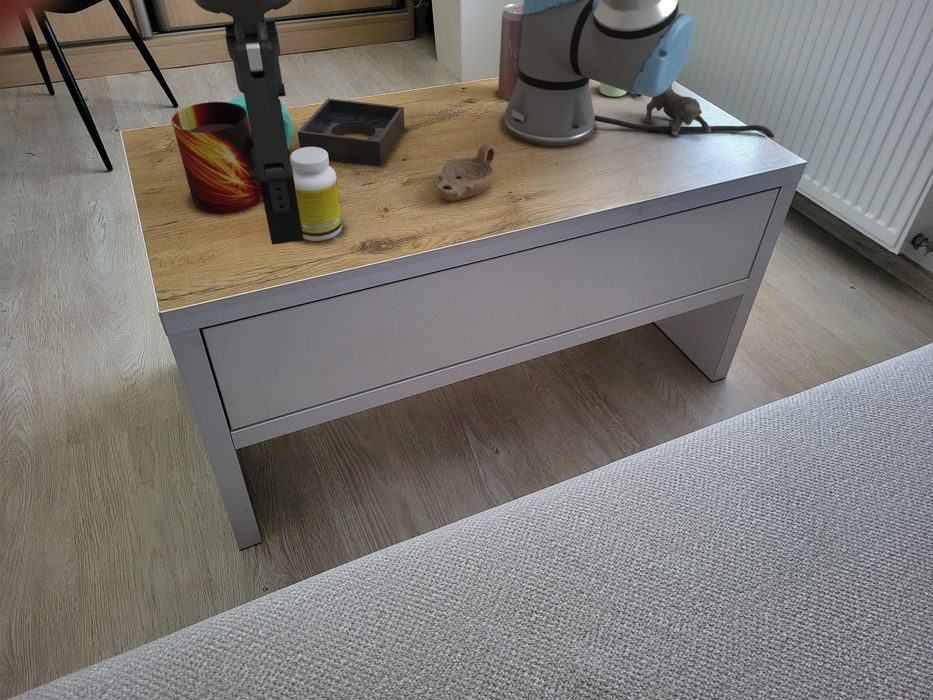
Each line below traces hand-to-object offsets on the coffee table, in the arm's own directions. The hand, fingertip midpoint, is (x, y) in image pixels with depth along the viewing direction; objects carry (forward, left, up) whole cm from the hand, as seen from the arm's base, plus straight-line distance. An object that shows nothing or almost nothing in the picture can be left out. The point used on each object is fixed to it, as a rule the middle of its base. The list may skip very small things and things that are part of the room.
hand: (281, 200), depth 67 cm
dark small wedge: (-30, -85, -19) cm, 93 cm away
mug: (+22, -29, -19) cm, 41 cm away
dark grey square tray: (+12, -49, -19) cm, 54 cm away
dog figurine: (-39, -68, -19) cm, 81 cm away
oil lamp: (-9, -39, -19) cm, 45 cm away
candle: (-28, -81, -19) cm, 88 cm away
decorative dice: (+24, -41, -19) cm, 52 cm away
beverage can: (-10, -75, -19) cm, 78 cm away
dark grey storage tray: (+12, -49, -19) cm, 54 cm away
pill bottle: (+8, -23, -19) cm, 31 cm away
